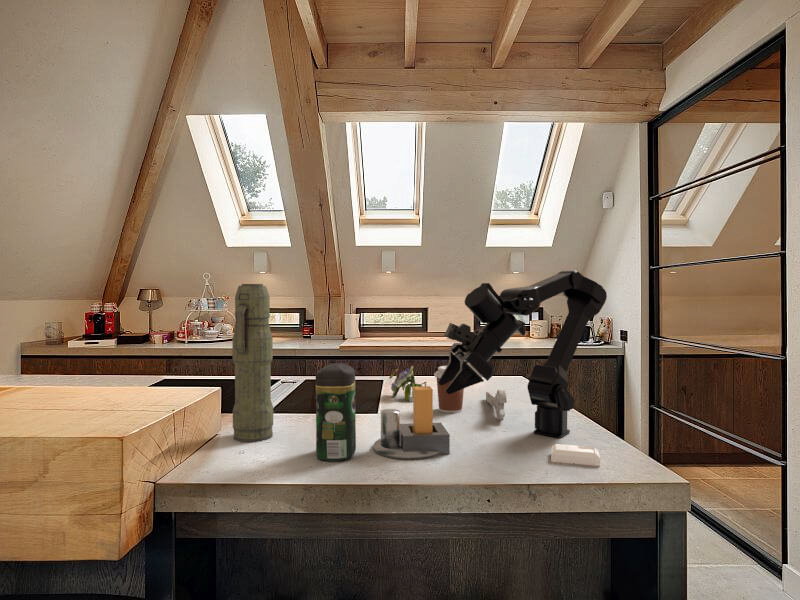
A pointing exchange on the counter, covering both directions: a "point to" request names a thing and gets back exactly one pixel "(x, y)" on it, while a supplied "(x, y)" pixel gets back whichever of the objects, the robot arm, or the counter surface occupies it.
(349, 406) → the coffee jar
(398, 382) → the passion flower
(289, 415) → the counter surface
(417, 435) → the desk organizer stand
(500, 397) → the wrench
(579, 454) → the soap bar
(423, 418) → the wooden block
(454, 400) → the coffee cup
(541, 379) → the robot arm
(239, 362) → the thermos
